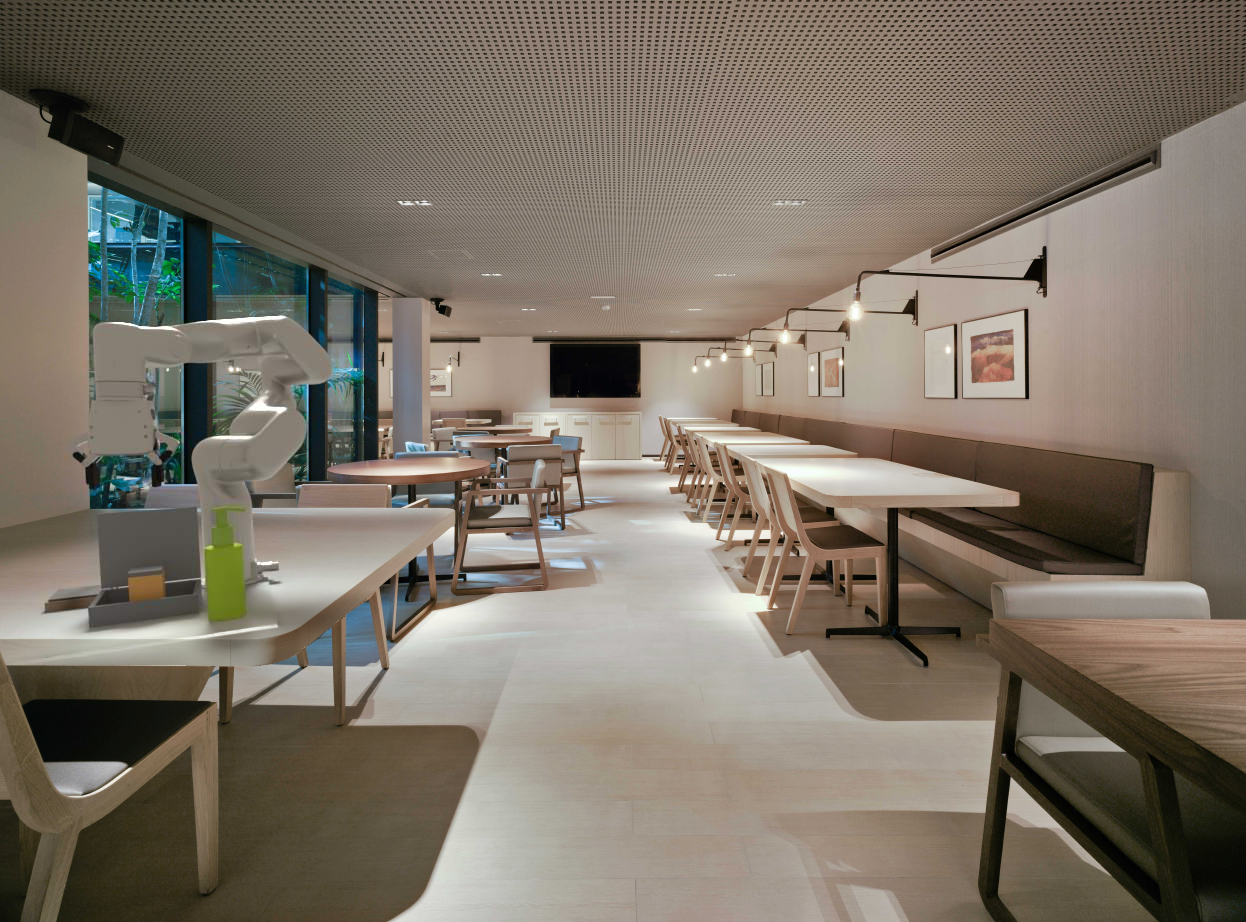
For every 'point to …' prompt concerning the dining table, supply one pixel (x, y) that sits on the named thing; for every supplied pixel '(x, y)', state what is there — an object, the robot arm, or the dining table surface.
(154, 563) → the lid
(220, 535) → the soap dispenser
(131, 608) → the case
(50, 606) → the pad
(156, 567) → the block
